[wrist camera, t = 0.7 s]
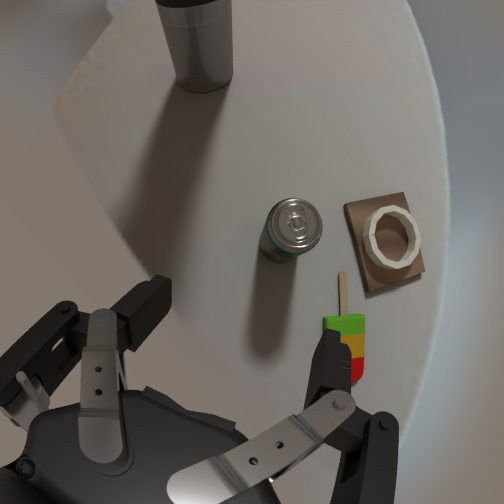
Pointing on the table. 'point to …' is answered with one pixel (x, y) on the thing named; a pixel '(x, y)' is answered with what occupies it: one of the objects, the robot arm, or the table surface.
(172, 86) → the table surface
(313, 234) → the soda can
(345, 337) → the popsicle
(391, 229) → the socket plate
